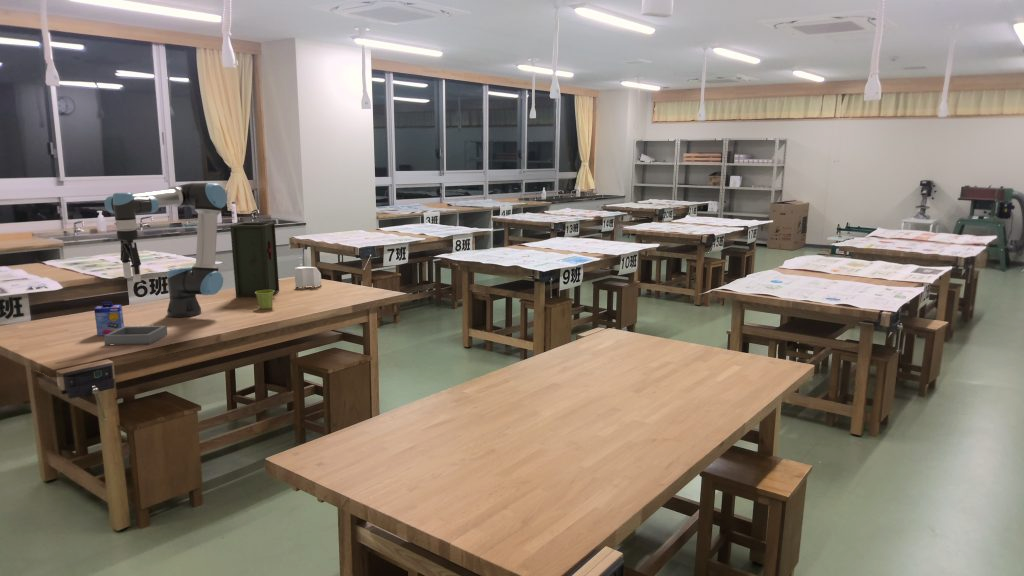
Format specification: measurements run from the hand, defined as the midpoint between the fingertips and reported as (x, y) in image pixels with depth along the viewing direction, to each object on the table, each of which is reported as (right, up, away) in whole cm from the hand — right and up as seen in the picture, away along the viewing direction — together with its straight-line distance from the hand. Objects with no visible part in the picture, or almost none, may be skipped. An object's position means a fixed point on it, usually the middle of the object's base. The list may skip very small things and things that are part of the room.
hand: (132, 279), depth 284 cm
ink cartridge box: (-15, -24, +10) cm, 30 cm away
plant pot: (+34, -14, +60) cm, 71 cm away
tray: (+3, -25, -1) cm, 26 cm away
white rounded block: (+38, -3, +120) cm, 126 cm away
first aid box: (+17, -7, +97) cm, 99 cm away
